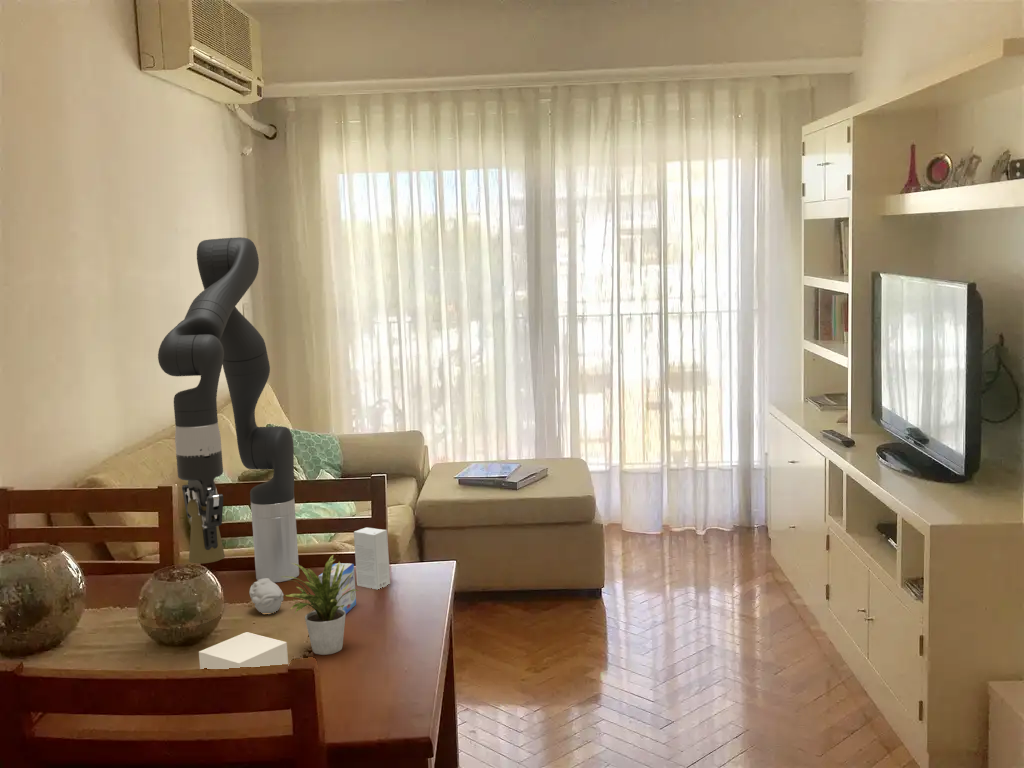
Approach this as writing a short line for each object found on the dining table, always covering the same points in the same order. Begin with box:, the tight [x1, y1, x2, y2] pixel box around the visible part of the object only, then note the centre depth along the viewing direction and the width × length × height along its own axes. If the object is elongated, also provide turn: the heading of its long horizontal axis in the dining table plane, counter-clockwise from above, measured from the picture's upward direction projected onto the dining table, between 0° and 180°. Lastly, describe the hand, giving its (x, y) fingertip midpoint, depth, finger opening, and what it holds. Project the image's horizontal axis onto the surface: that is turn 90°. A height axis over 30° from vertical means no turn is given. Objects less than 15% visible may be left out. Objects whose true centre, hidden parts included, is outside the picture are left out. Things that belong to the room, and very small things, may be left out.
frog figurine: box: [249, 578, 285, 614], centre depth 186 cm, size 6×7×7 cm
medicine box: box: [317, 562, 357, 615], centre depth 186 cm, size 8×4×9 cm, turn 168°
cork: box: [187, 499, 226, 564], centre depth 166 cm, size 6×6×11 cm
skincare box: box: [353, 527, 391, 591], centre depth 201 cm, size 6×4×12 cm
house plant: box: [283, 554, 360, 656], centre depth 168 cm, size 14×14×16 cm
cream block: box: [198, 631, 289, 670], centre depth 158 cm, size 10×10×5 cm
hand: (206, 545), depth 167 cm, fingers closed on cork, 4 cm apart
